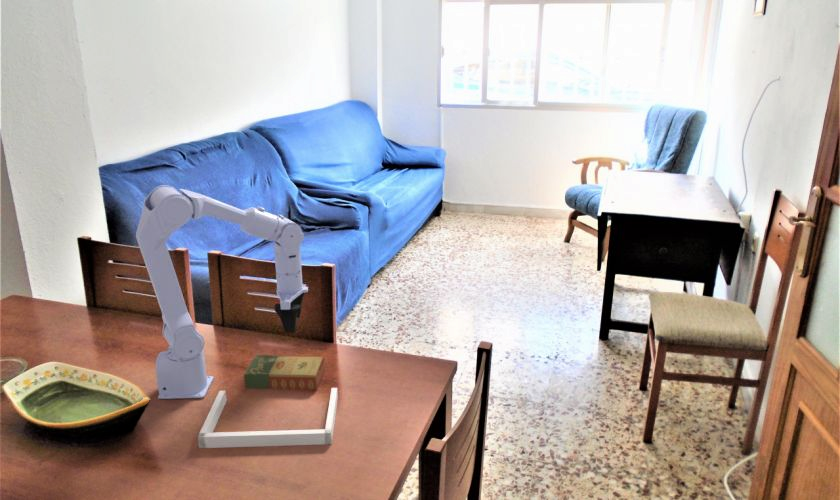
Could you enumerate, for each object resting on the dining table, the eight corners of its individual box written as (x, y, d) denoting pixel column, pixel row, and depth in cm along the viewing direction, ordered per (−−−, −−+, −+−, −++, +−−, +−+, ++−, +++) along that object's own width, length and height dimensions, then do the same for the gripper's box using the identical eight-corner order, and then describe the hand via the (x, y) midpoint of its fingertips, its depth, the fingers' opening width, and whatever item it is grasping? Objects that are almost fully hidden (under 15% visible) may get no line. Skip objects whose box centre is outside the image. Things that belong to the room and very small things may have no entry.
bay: (199, 448, 108) (197, 437, 108) (220, 400, 123) (219, 390, 122) (331, 444, 110) (330, 433, 109) (337, 397, 124) (337, 387, 123)
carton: (317, 392, 127) (316, 375, 125) (244, 389, 127) (242, 372, 126) (325, 371, 135) (324, 355, 133) (256, 369, 135) (254, 353, 134)
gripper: (301, 282, 126) (305, 338, 131) (310, 259, 140) (313, 310, 144) (268, 283, 126) (273, 339, 130) (280, 259, 140) (284, 311, 144)
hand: (292, 324), depth 137 cm, fingers open, 7 cm apart
